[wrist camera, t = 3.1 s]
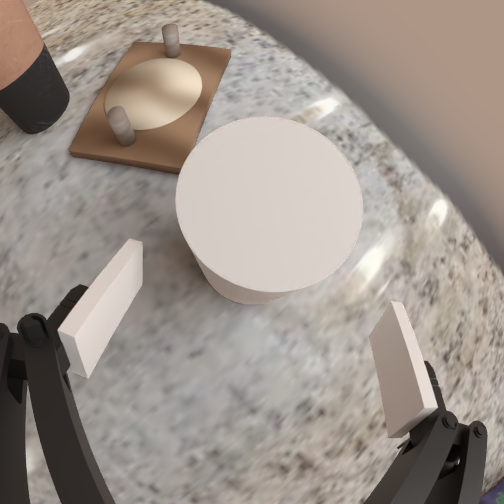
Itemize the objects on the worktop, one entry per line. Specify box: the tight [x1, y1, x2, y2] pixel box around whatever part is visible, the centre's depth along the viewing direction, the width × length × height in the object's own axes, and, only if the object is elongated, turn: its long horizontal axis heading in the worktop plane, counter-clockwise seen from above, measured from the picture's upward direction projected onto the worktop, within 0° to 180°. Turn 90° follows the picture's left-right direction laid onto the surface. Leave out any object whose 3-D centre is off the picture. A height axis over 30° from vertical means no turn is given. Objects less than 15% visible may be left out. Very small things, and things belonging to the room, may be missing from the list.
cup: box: [175, 117, 363, 305], centre depth 18 cm, size 8×8×12 cm
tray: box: [69, 24, 231, 174], centre depth 24 cm, size 16×12×5 cm
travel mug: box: [0, 0, 70, 134], centre depth 16 cm, size 8×8×20 cm
